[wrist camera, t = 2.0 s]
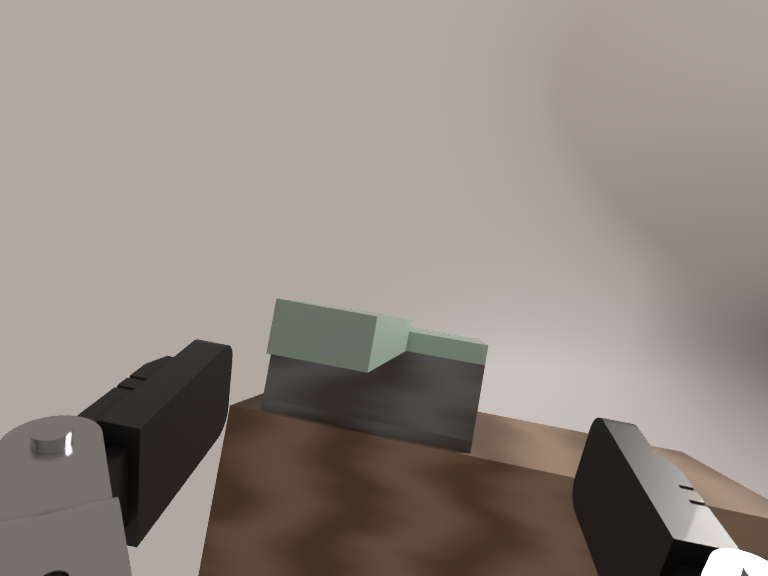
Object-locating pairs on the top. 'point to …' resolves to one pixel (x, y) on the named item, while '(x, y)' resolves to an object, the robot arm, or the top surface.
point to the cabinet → (411, 480)
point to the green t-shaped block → (358, 337)
